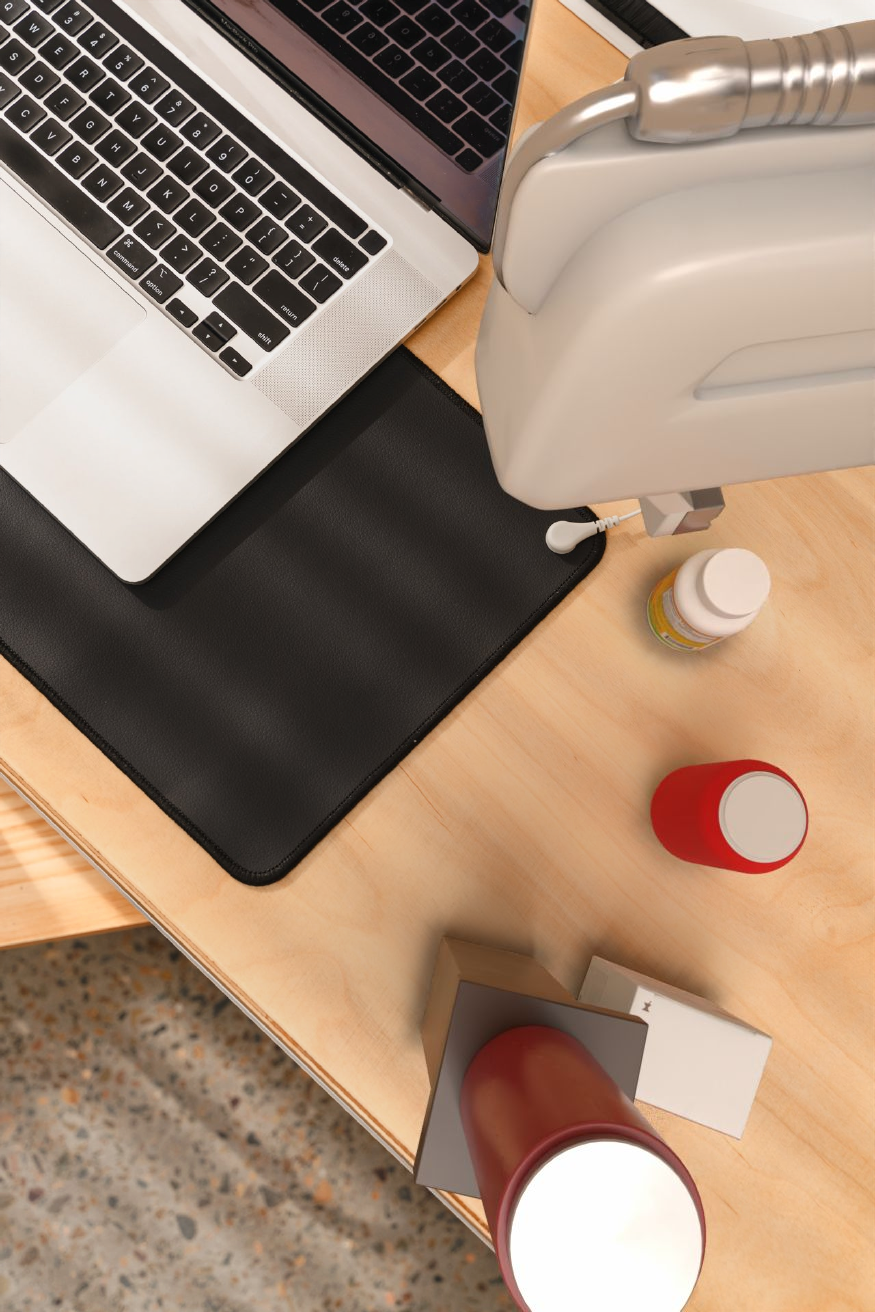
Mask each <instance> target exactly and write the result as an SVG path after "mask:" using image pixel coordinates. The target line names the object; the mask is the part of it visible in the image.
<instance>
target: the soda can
mask: <svg viewBox="0 0 875 1312" xmlns="http://www.w3.org/2000/svg"><path fill="white" fill-rule="evenodd" d="M460 1118H461V1123H462V1127H463V1131H464V1135H465V1139H466V1143H467V1146H468V1150H469V1154H470V1158H471V1162H472V1166H473V1169H474V1173H475V1177H476V1181H477V1185H478V1189H479V1192H480V1196H481V1203H482V1208H483V1211H484V1216H485V1219H486V1223H487V1226H488V1230H489V1234H490V1238H491V1242H492V1247H493V1250H494V1253H495V1257H496V1260H497V1265H498V1269H499V1272H500V1275H501V1278H502V1280H503V1283H504V1286H505V1287H506V1289H507V1291H508V1294H509V1295H510V1297H511V1299H512V1301H514V1303H515V1305H516V1306H517V1308H518V1309H519V1310H520V1311H521V1312H683V1310H684V1309H685V1307H686V1306H687V1304H688V1302H689V1301H690V1299H691V1297H692V1295H693V1293H694V1291H695V1288H696V1286H697V1284H698V1281H699V1279H700V1276H701V1273H702V1270H703V1264H704V1261H705V1255H706V1246H707V1223H706V1216H705V1209H704V1205H703V1202H702V1197H701V1195H700V1192H699V1190H698V1187H697V1184H696V1182H695V1180H694V1179H693V1176H692V1175H691V1173H690V1171H689V1170H688V1168H687V1167H686V1165H685V1164H684V1162H683V1161H682V1159H681V1158H680V1157H679V1155H677V1154H676V1152H675V1151H674V1150H673V1149H672V1147H670V1145H669V1144H668V1143H667V1142H666V1140H665V1139H664V1137H662V1135H660V1133H659V1132H658V1131H657V1130H656V1129H655V1128H654V1126H653V1125H652V1124H651V1122H649V1120H648V1119H647V1118H646V1116H645V1115H644V1114H643V1113H642V1112H641V1111H640V1110H639V1109H638V1107H636V1105H635V1103H634V1104H633V1103H632V1102H631V1100H630V1099H629V1098H628V1097H627V1096H626V1094H625V1093H624V1092H623V1091H622V1090H621V1089H620V1087H619V1086H618V1085H617V1084H616V1083H615V1081H614V1080H613V1079H612V1078H611V1077H610V1076H609V1074H608V1073H607V1072H606V1071H605V1070H604V1068H603V1067H602V1066H601V1065H600V1064H599V1062H598V1061H597V1060H596V1059H595V1058H594V1057H593V1055H592V1054H591V1053H590V1052H589V1051H588V1050H587V1049H586V1048H585V1046H584V1045H582V1044H581V1043H580V1042H579V1041H578V1040H576V1039H575V1038H573V1037H572V1036H570V1035H569V1034H567V1033H565V1032H562V1031H560V1030H558V1029H554V1028H551V1027H546V1026H534V1025H530V1026H521V1027H518V1028H514V1029H511V1030H508V1031H506V1032H503V1033H501V1034H500V1035H498V1036H496V1037H494V1038H493V1039H492V1040H491V1041H489V1042H488V1043H487V1044H486V1045H485V1046H484V1047H483V1048H482V1049H481V1050H480V1051H479V1052H478V1053H477V1055H476V1056H475V1057H474V1058H473V1060H472V1062H471V1064H470V1065H469V1067H468V1069H467V1072H466V1074H465V1076H464V1079H463V1083H462V1086H461V1093H460Z"/></svg>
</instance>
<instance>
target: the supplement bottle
mask: <svg viewBox="0 0 875 1312" xmlns="http://www.w3.org/2000/svg"><path fill="white" fill-rule="evenodd" d="M771 586H772V579H771V574H770V571H769V568H768V566H767V565H766V563H765V562H764V561H763V560H762V558H761V557H760V556H759V555H757V554H756V553H754V552H753V551H751V550H749V549H746V548H741V547H727V548H721V547H714V548H707V549H704V550H701V551H699V552H697V553H695V554H693V555H691V556H690V557H688V558H687V559H686V560H685V561H684V562H682V563H681V564H679V566H677V567H676V568H675V569H673V570H672V571H671V572H670V573H668V574H667V575H665V576H664V577H663V578H662V579H661V580H660V581H658V583H657V584H656V585H655V586H654V588H652V590H651V592H650V595H649V596H648V600H647V604H646V616H647V621H648V624H649V627H650V629H651V631H652V633H653V634H654V636H655V637H656V638H657V639H658V640H659V641H660V642H661V643H662V644H664V645H665V646H667V647H669V648H670V649H673V650H676V651H679V652H687V653H688V652H689V653H690V652H698V651H701V650H704V649H706V648H709V647H710V646H713V645H715V644H717V643H719V642H721V641H723V640H726V639H727V638H729V637H732V636H734V635H736V634H738V633H740V632H742V631H743V630H745V629H747V628H748V627H749V626H751V624H752V623H753V622H755V620H756V619H757V617H758V616H759V614H760V612H761V610H762V607H763V605H764V604H765V603H766V601H767V599H768V597H769V596H770V592H771Z"/></svg>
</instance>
